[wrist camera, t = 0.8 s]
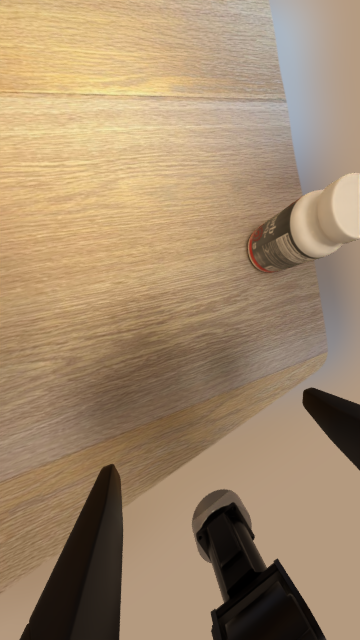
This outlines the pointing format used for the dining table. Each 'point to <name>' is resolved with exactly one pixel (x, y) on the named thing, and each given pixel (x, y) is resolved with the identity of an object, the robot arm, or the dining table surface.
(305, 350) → the dining table surface
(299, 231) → the pill bottle
